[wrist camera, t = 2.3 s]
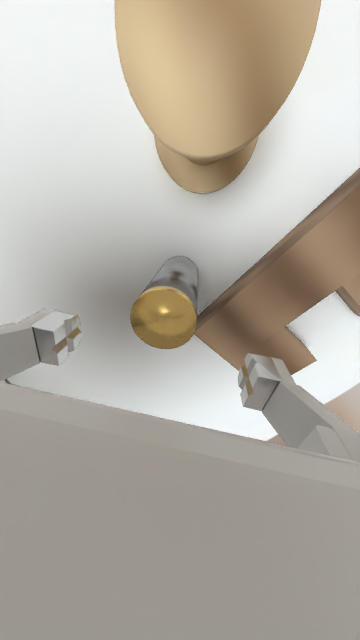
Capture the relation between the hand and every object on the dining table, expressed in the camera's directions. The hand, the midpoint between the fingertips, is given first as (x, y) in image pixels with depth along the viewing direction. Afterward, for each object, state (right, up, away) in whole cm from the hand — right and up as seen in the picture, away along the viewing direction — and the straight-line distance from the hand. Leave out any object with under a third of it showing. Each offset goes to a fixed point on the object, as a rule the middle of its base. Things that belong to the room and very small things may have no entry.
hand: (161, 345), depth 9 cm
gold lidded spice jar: (+1, +6, +12) cm, 13 cm away
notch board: (+14, +4, +12) cm, 18 cm away
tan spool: (+3, +16, +6) cm, 18 cm away
